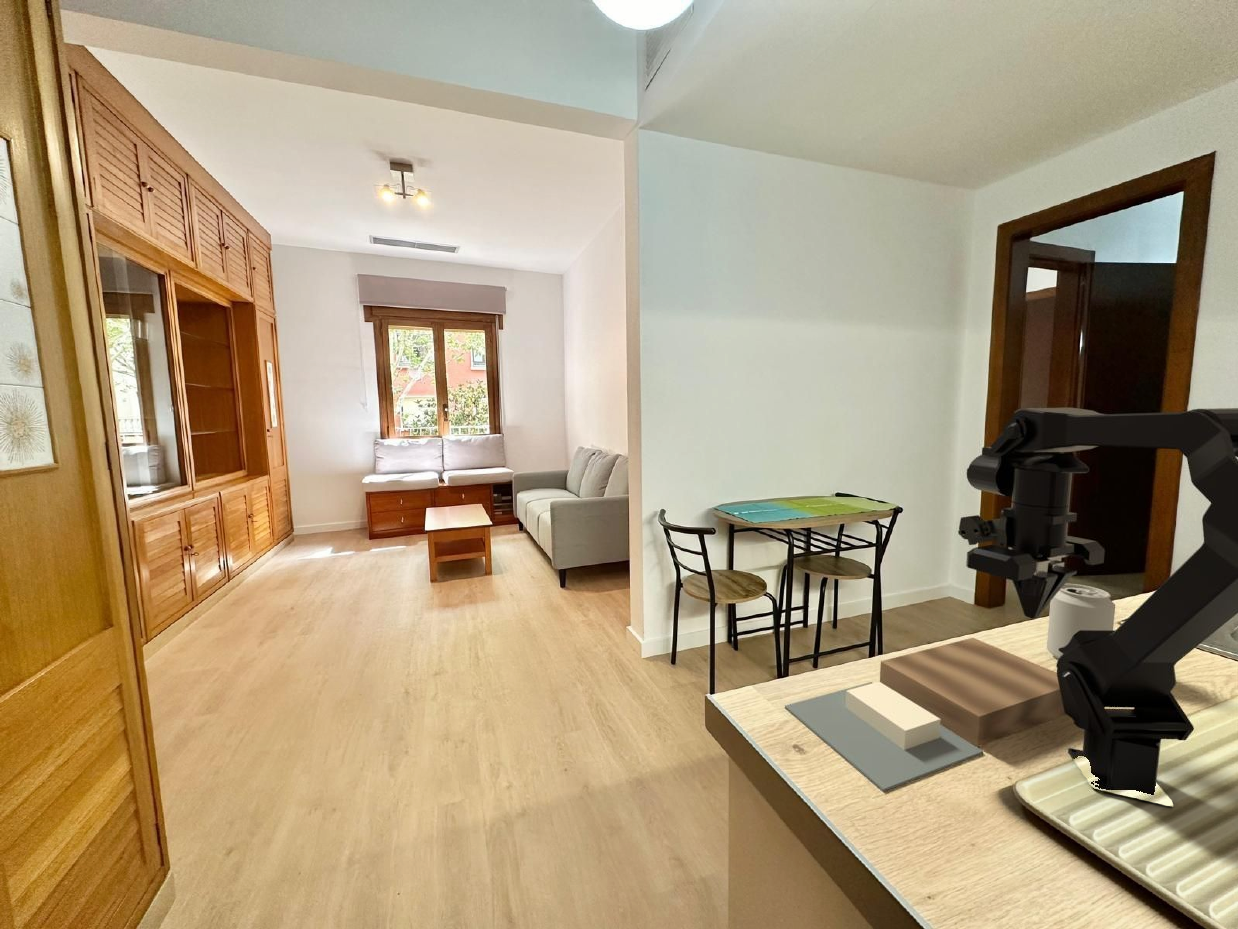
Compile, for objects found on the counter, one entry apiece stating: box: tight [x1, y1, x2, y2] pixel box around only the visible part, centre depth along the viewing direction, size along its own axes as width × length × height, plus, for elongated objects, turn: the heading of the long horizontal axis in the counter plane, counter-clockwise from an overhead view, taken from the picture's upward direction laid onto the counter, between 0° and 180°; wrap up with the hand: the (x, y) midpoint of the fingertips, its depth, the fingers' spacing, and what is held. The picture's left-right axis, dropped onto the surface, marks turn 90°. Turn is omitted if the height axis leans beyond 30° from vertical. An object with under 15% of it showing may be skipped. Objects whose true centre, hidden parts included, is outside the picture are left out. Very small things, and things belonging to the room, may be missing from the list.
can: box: [1046, 583, 1116, 660], centre depth 78 cm, size 8×8×12 cm
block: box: [879, 637, 1066, 748], centre depth 68 cm, size 20×14×4 cm
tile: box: [846, 681, 941, 750], centre depth 63 cm, size 6×9×2 cm, turn 20°
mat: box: [784, 681, 984, 792], centre depth 62 cm, size 16×16×1 cm
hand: (1030, 617), depth 65 cm, fingers closed
